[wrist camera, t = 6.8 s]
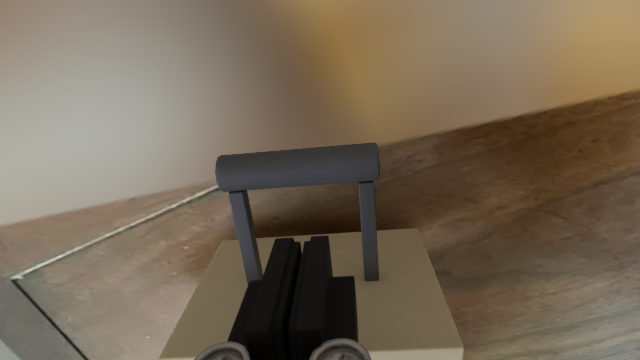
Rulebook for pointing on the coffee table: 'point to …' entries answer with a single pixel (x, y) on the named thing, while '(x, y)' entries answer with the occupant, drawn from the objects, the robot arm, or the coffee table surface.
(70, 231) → the coffee table surface
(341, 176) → the drawer
